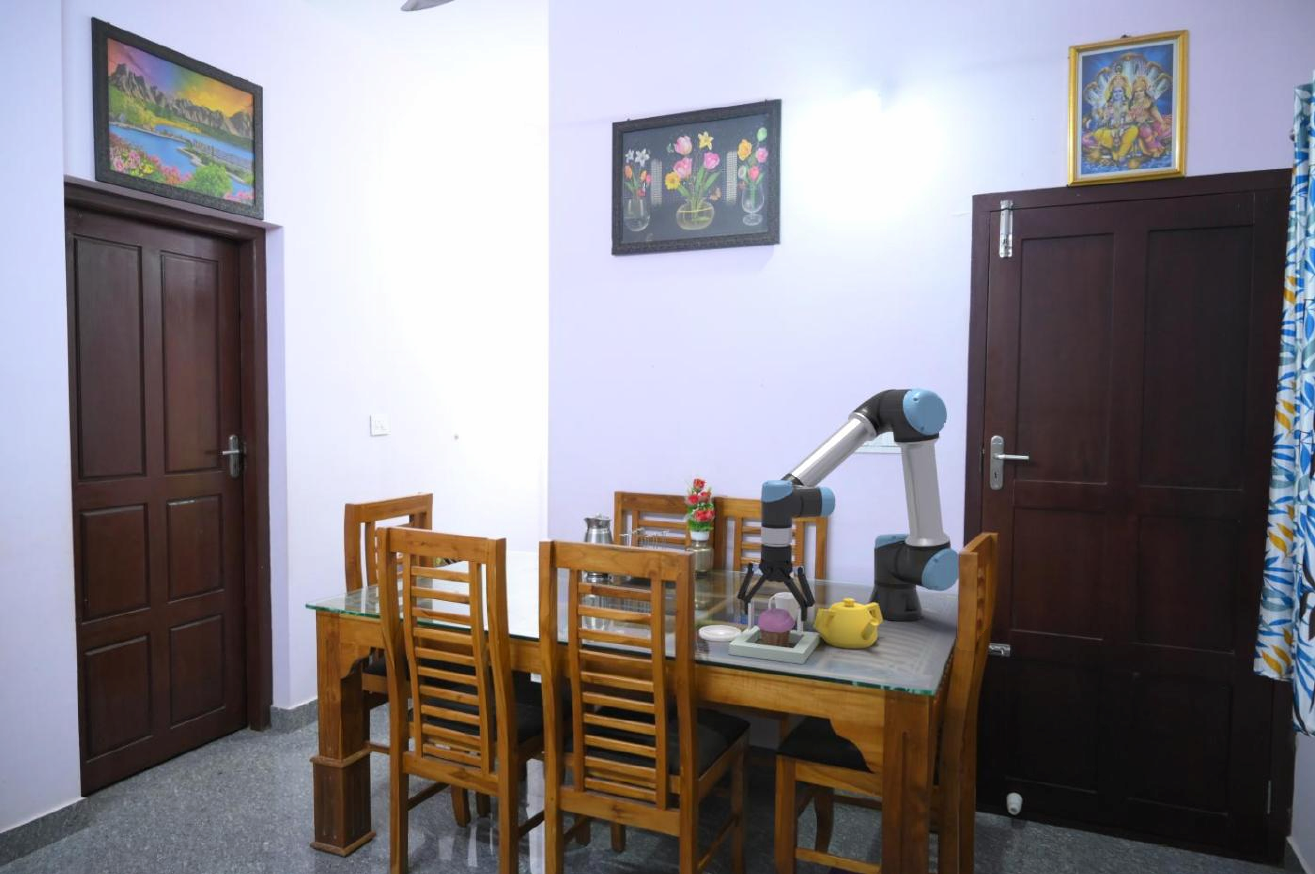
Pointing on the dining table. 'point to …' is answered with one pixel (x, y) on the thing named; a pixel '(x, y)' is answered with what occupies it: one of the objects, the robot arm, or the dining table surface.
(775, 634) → the cupcake
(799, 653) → the frame
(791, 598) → the cup
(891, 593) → the robot arm
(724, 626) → the plate
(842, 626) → the teapot
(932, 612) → the dining table surface
